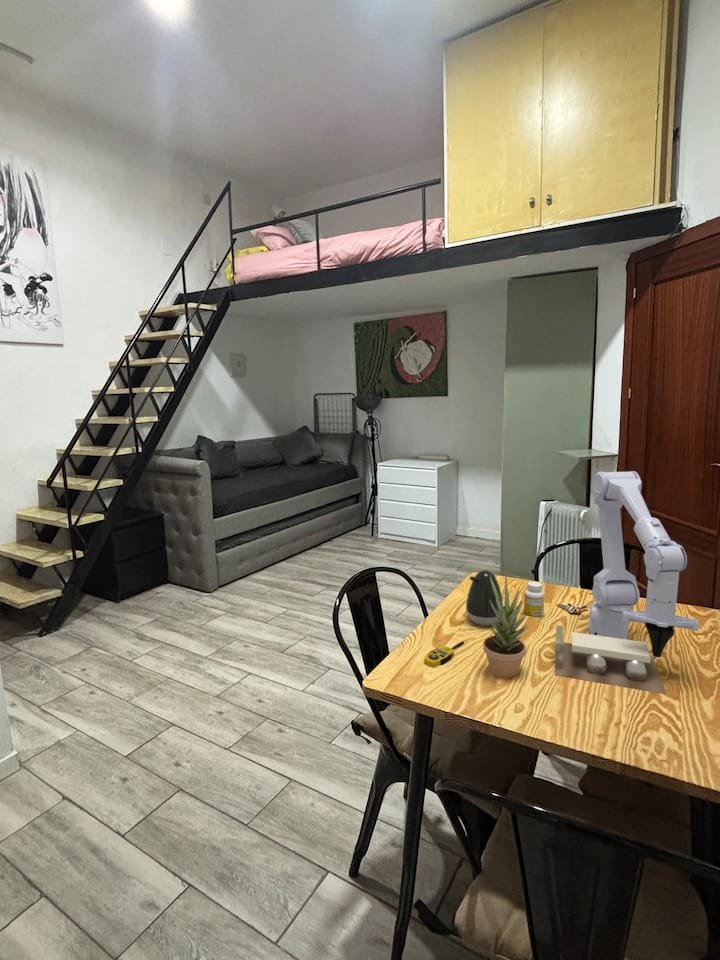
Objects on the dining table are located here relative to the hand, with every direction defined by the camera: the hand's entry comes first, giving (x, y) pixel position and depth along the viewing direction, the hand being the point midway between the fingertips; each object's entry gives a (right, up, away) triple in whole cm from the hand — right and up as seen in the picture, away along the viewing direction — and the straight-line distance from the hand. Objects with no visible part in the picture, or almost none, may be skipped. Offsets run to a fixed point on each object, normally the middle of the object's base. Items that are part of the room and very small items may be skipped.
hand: (656, 654), depth 116 cm
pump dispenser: (-32, -1, +30) cm, 44 cm away
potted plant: (-34, -6, +3) cm, 34 cm away
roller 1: (-10, -3, +5) cm, 12 cm away
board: (-9, -5, +5) cm, 12 cm away
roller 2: (-3, -4, +2) cm, 5 cm away
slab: (-9, 0, +3) cm, 10 cm away
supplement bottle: (-16, 0, +34) cm, 37 cm away
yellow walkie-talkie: (-45, -5, +12) cm, 47 cm away
